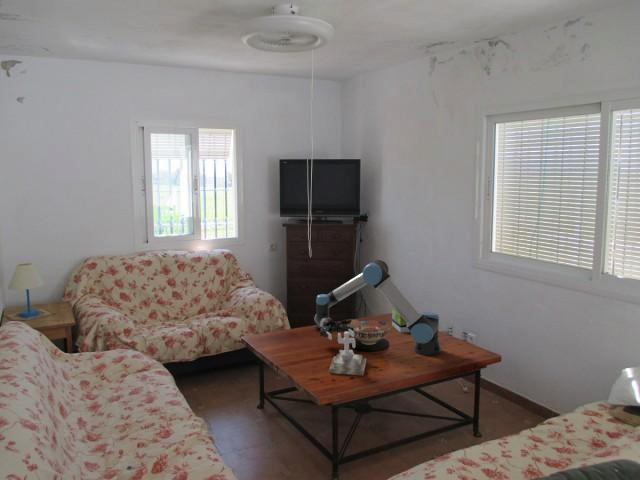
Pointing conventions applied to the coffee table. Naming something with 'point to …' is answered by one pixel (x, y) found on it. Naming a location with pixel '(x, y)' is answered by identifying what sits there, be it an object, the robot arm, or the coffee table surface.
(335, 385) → the coffee table surface
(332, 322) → the robot arm
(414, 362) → the coffee table surface
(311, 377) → the coffee table surface
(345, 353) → the figurine
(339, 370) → the plinth
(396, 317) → the tea box
